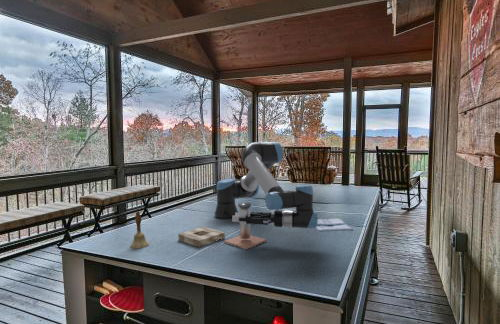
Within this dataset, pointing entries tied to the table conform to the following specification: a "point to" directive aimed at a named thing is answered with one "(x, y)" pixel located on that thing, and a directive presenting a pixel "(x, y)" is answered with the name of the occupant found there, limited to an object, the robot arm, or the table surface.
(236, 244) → the terracotta mat
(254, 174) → the robot arm
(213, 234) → the frame
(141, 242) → the hand bell
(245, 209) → the aluminium plug
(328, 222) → the white folded cloth
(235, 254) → the table surface
